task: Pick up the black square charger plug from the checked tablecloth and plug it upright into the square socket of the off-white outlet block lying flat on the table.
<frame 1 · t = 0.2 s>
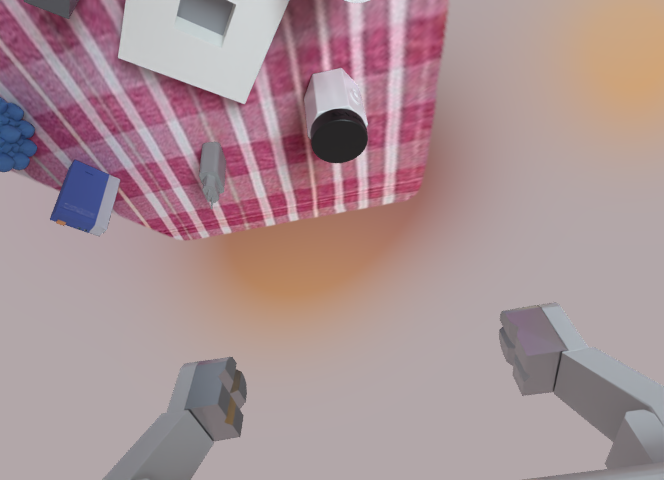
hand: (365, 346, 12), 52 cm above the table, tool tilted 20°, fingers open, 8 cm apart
walkman: (95, 172, 74), on the table
jar: (331, 91, 65), on the table
power adapter: (214, 153, 73), on the table
grapes: (10, 107, 61), on the table
outlet block: (206, 0, 52), on the table
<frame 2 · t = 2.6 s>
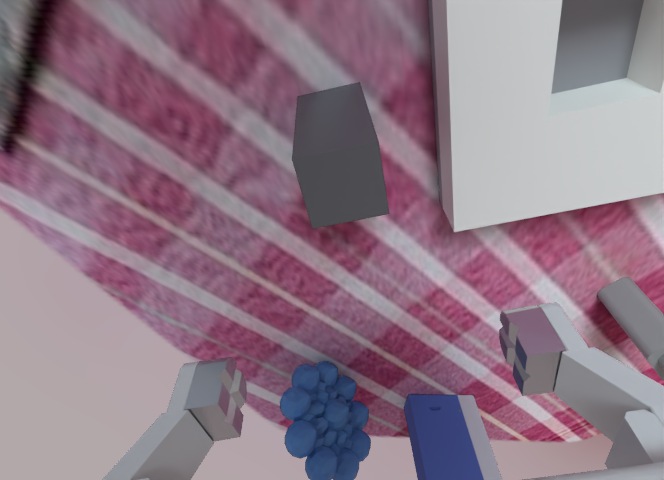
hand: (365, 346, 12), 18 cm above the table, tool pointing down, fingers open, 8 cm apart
walkman: (437, 399, 48), on the table
power adapter: (620, 297, 38), on the table
charger plug: (334, 119, 27), on the table
grapes: (319, 365, 43), on the table
outlet block: (574, 33, 24), on the table
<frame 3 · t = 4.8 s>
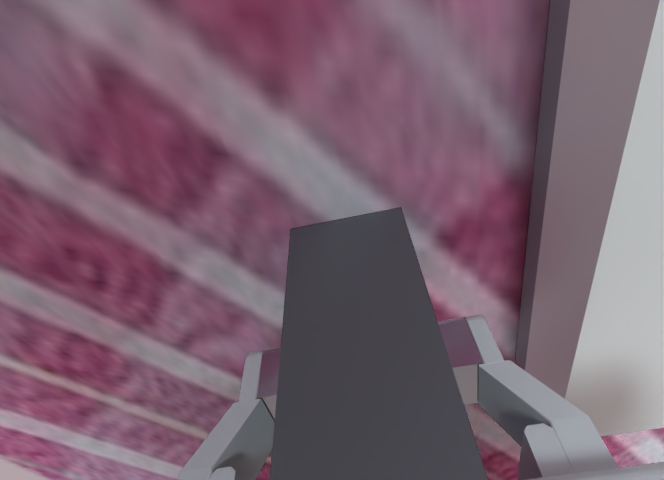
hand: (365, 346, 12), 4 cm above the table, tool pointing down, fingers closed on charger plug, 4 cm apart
charger plug: (354, 260, 16), on the table, touching gripper
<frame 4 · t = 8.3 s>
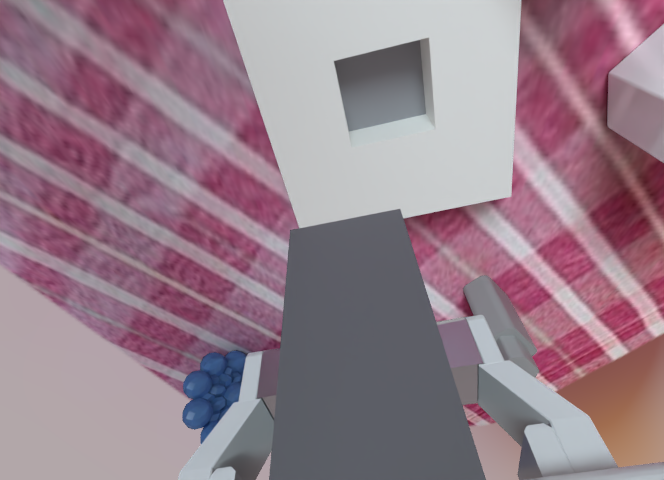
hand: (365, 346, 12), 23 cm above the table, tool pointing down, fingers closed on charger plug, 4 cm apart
jar: (658, 80, 31), on the table
power adapter: (485, 292, 44), on the table
charger plug: (354, 261, 16), point 19 cm above the table, touching gripper
grapes: (234, 355, 49), on the table
outlet block: (379, 79, 30), on the table
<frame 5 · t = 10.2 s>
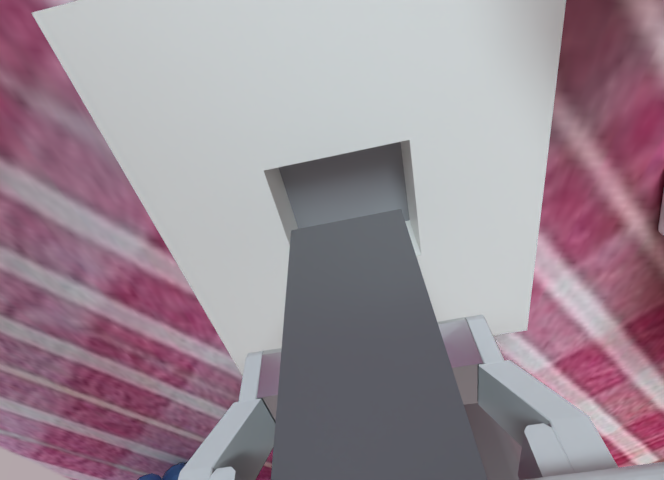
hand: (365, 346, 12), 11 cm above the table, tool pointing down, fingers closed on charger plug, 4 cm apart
power adapter: (487, 404, 35), on the table
charger plug: (355, 261, 16), point 7 cm above the table, touching gripper
grapes: (179, 465, 40), on the table
outlet block: (343, 174, 21), on the table
when the fingers open (6 cm above the table, at t = 11.7 s): charger plug stays where it is, resting on outlet block.
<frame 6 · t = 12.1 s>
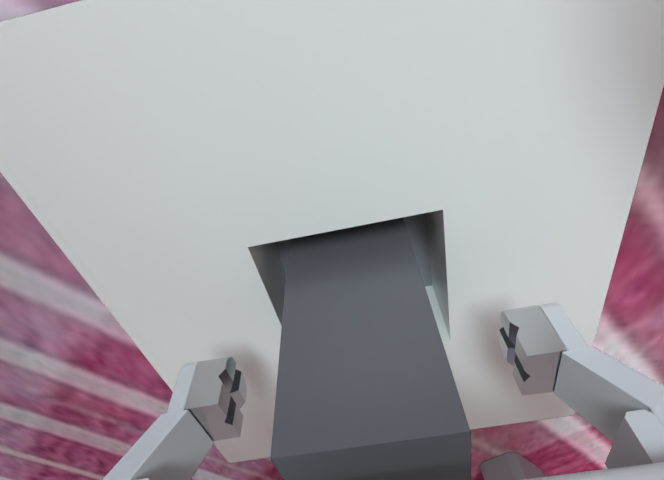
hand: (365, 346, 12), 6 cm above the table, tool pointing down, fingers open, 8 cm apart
power adapter: (510, 466, 31), on the table
charger plug: (352, 245, 16), point 1 cm above the table, touching outlet block
outlet block: (351, 231, 17), on the table
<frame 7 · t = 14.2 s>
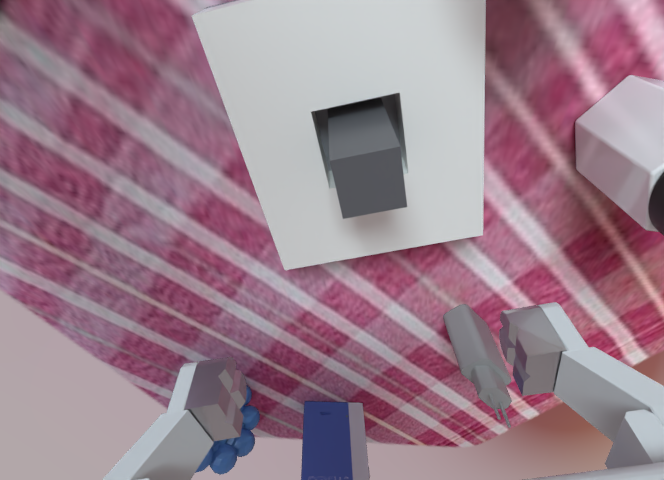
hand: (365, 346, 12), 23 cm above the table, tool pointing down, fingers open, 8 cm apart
walkman: (332, 405, 55), on the table
jar: (623, 127, 33), on the table
power adapter: (465, 320, 46), on the table
charger plug: (358, 129, 31), point 1 cm above the table, touching outlet block
grapes: (221, 374, 50), on the table
outlet block: (357, 124, 32), on the table
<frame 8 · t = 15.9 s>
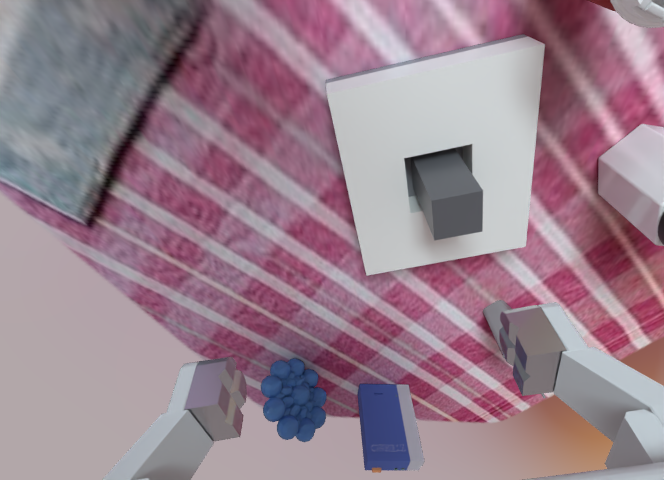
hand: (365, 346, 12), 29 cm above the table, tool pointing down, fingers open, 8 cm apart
walkman: (382, 387, 64), on the table
jar: (635, 161, 42), on the table
power adapter: (500, 313, 55), on the table
charger plug: (431, 166, 40), point 1 cm above the table, touching outlet block
grapes: (292, 362, 60), on the table
outlet block: (429, 161, 41), on the table
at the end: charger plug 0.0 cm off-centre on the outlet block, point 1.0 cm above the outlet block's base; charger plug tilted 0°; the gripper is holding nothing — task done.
